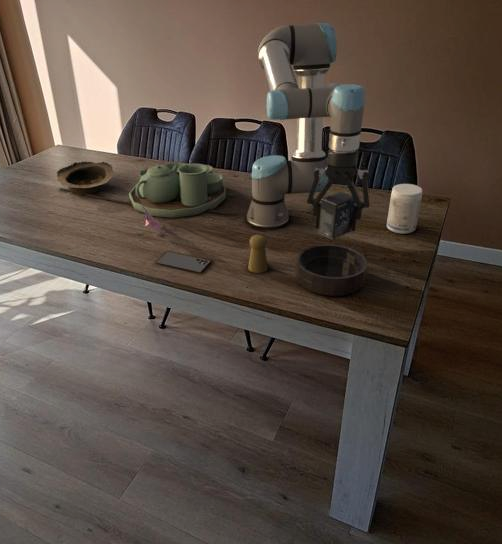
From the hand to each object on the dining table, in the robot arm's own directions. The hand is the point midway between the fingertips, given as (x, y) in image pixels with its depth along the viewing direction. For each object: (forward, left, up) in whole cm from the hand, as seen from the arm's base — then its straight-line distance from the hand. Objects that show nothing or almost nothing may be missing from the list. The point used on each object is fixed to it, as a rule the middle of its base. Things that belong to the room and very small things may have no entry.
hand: (335, 227), depth 140 cm
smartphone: (-46, 0, -17) cm, 49 cm away
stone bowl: (-108, +53, -17) cm, 122 cm away
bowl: (0, 0, -17) cm, 17 cm away
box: (0, 0, -2) cm, 2 cm away
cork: (-22, +2, -17) cm, 28 cm away
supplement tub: (+21, +38, -17) cm, 47 cm away
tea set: (-65, +50, -17) cm, 84 cm away
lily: (-64, +18, -17) cm, 69 cm away
